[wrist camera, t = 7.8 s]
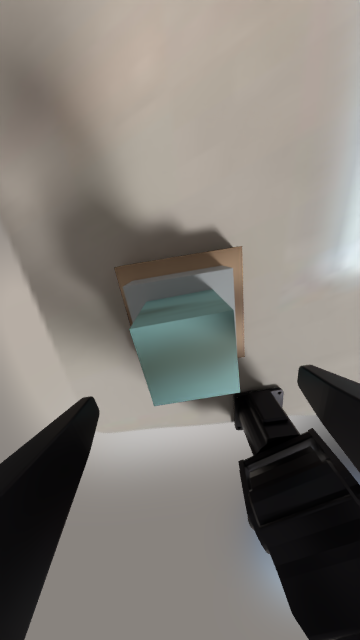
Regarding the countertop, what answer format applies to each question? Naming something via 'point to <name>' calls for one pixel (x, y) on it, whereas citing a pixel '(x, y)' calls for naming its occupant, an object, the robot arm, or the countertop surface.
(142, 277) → the walnut slab
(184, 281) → the grey block
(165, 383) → the teal block
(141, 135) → the countertop surface
